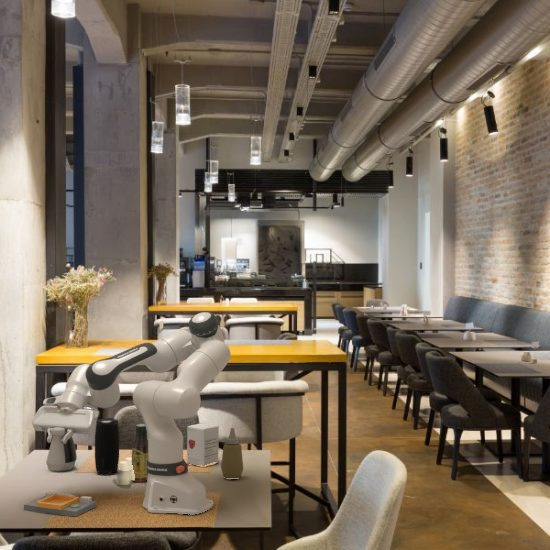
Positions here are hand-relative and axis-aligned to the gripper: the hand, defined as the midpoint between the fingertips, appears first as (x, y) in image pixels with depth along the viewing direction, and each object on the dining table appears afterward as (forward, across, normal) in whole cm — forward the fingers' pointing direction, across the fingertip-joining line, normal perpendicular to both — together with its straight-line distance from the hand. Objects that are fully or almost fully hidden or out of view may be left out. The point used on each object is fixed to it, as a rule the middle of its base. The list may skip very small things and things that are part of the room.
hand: (56, 442), depth 239 cm
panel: (+15, -3, -14) cm, 20 cm away
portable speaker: (-17, 0, -44) cm, 47 cm away
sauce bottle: (-11, -16, -38) cm, 43 cm away
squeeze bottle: (-19, -47, -44) cm, 67 cm away
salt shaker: (+6, 0, -6) cm, 9 cm away
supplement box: (-32, -31, -57) cm, 72 cm away
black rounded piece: (-18, +18, -45) cm, 52 cm away
